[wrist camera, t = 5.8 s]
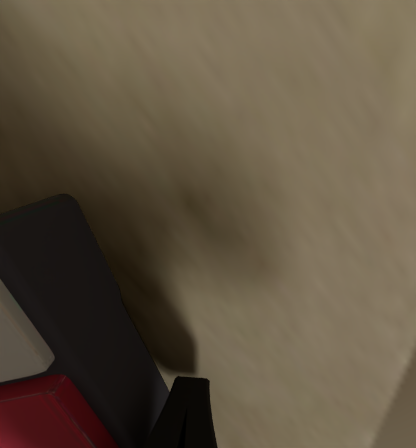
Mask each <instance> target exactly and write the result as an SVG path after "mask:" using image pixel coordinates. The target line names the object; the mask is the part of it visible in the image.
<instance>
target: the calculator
mask: <svg viewBox="0 0 416 448" xmlns="http://www.w3.org/2000/svg"><path fill="white" fill-rule="evenodd" d="M169 393H170V392H169V390H168V388H167V386H166V384H165V382H164V380H163V379H162V377H161V375H160V373H159V371H158V369H157V368H156V366H155V364H154V362H153V360H152V358H151V356H150V355H149V353H148V351H147V349H146V347H145V345H144V344H143V342H142V340H141V338H140V336H139V334H138V332H137V331H136V329H135V327H134V325H133V323H132V321H131V319H130V318H129V316H128V314H127V312H126V310H125V308H124V306H123V304H122V301H121V294H120V289H119V287H118V285H117V282H116V280H115V278H114V276H113V274H112V272H111V270H110V268H109V266H108V264H107V262H106V260H105V258H104V256H103V254H102V252H101V250H100V248H99V245H98V243H97V241H96V239H95V237H94V235H93V233H92V231H91V229H90V227H89V225H88V223H87V221H86V219H85V217H84V215H83V213H82V211H81V209H80V207H79V205H78V203H77V201H76V200H75V199H74V198H73V197H72V196H70V195H68V194H60V195H56V196H53V197H50V198H47V199H44V200H41V201H38V202H35V203H32V204H29V205H26V206H23V207H20V208H17V209H14V210H11V211H8V212H5V213H2V214H0V448H143V446H144V444H145V442H146V441H147V439H148V437H149V435H150V433H151V431H152V429H153V427H154V425H155V423H156V421H157V419H158V417H159V415H160V413H161V411H162V409H163V407H164V405H165V402H166V400H167V398H168V396H169Z"/></svg>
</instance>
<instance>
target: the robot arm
mask: <svg viewBox="0 0 416 448" xmlns="http://www.w3.org/2000/svg"><path fill="white" fill-rule="evenodd" d="M209 383H210V381H209V380H208V379H206V378H194V377H181V376H178V377H176V378H175V380H174V383H173V386H172V388H171V391H170V393H169V396H168V398H167V400H166V402H165V405H164V407H163V409H162V411H161V413H160V415H159V417H158V419H157V421H156V423H155V425H154V427H153V429H152V431H151V433H150V435H149V437H148V439H147V441H146V442H145V444H144V446H143V448H217V443H216V437H215V432H214V426H213V420H212V413H211V405H210V391H209Z"/></svg>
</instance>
